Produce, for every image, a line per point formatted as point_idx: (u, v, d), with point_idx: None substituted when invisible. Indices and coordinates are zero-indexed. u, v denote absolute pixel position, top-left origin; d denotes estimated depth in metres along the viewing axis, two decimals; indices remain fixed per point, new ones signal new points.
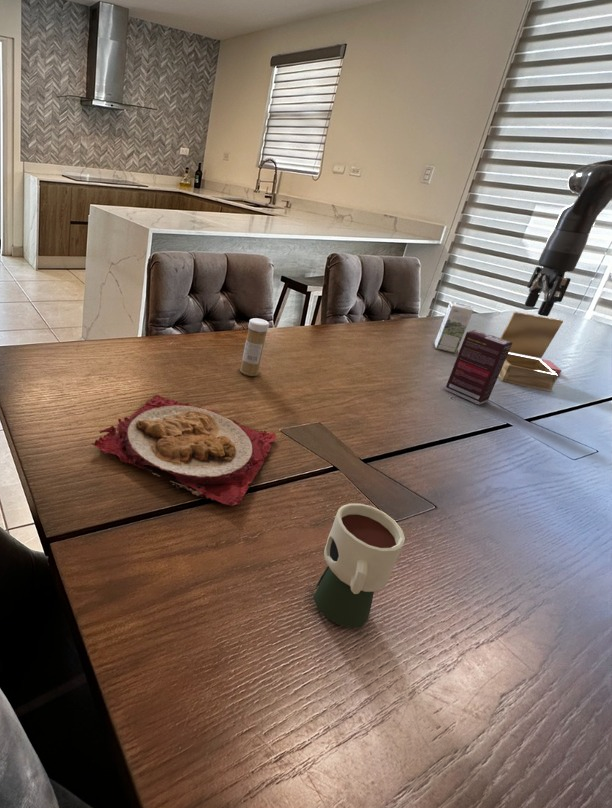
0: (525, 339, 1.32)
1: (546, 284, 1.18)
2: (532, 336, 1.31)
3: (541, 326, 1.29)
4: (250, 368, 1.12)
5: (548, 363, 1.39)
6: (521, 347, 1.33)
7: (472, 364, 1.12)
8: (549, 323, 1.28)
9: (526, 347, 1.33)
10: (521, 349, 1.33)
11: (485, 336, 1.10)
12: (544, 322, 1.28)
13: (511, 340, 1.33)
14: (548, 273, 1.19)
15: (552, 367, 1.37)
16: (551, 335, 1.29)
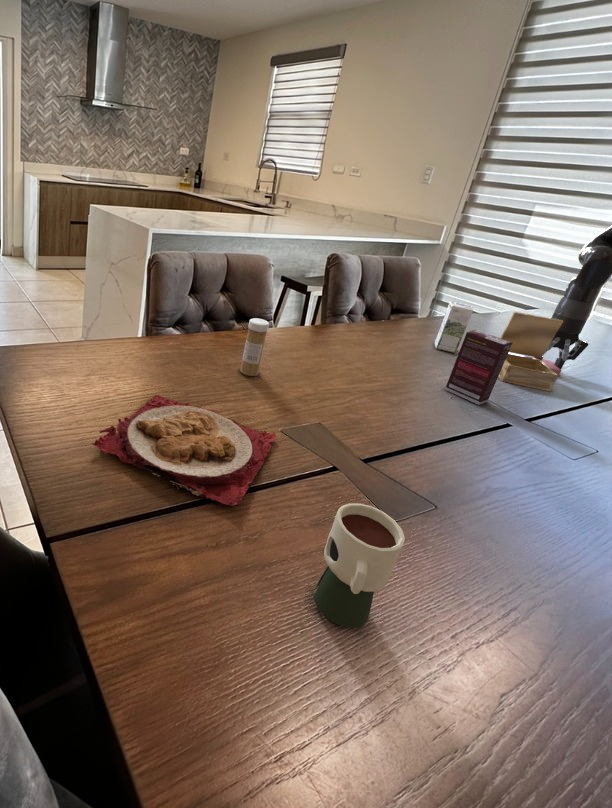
0: (525, 339, 1.32)
1: (568, 347, 1.35)
2: (532, 336, 1.31)
3: (541, 326, 1.29)
4: (250, 368, 1.12)
5: (548, 363, 1.39)
6: (521, 347, 1.33)
7: (472, 364, 1.12)
8: (549, 323, 1.28)
9: (526, 347, 1.33)
10: (521, 349, 1.33)
11: (485, 336, 1.10)
12: (544, 322, 1.28)
13: (511, 340, 1.33)
14: (565, 336, 1.34)
15: (552, 367, 1.37)
16: (551, 335, 1.29)
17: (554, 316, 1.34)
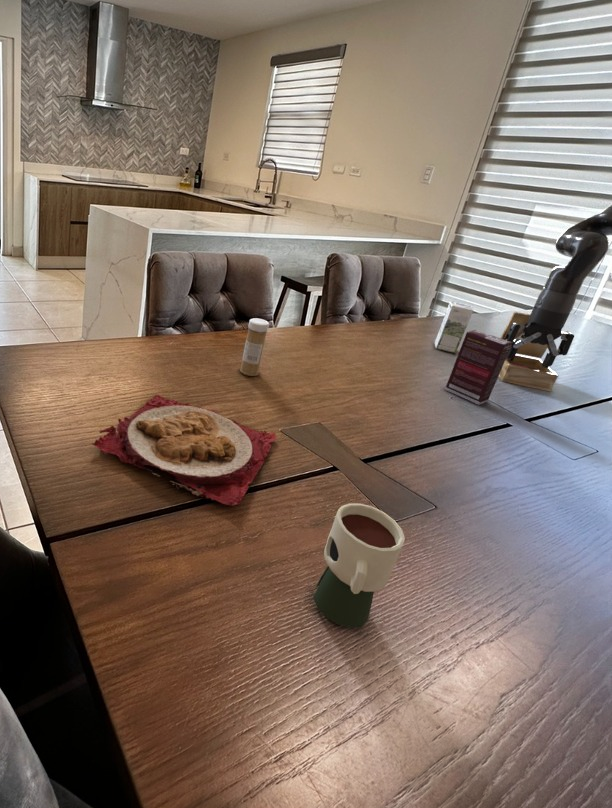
0: None
1: (554, 342, 1.24)
2: None
3: None
4: (250, 368, 1.12)
5: None
6: (521, 347, 1.33)
7: (472, 364, 1.12)
8: None
9: (526, 347, 1.33)
10: (521, 349, 1.33)
11: (485, 336, 1.10)
12: None
13: None
14: (547, 331, 1.24)
15: None
16: None
17: (535, 309, 1.23)
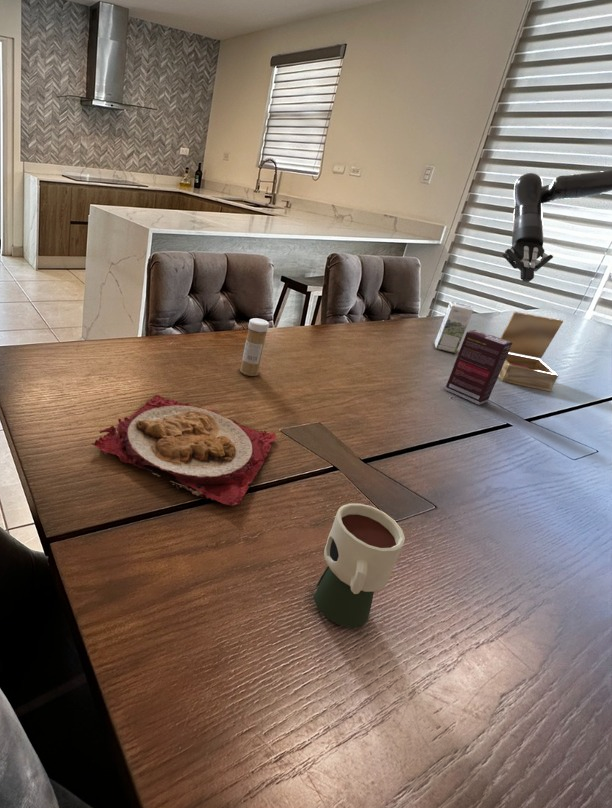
0: (525, 339, 1.32)
1: (536, 256, 1.39)
2: (532, 336, 1.31)
3: (541, 326, 1.29)
4: (250, 368, 1.12)
5: None
6: (521, 347, 1.33)
7: (472, 364, 1.12)
8: (549, 323, 1.28)
9: (526, 347, 1.33)
10: (521, 349, 1.33)
11: (485, 336, 1.10)
12: (544, 322, 1.28)
13: (511, 340, 1.33)
14: (532, 247, 1.41)
15: None
16: (551, 335, 1.29)
17: (514, 233, 1.44)
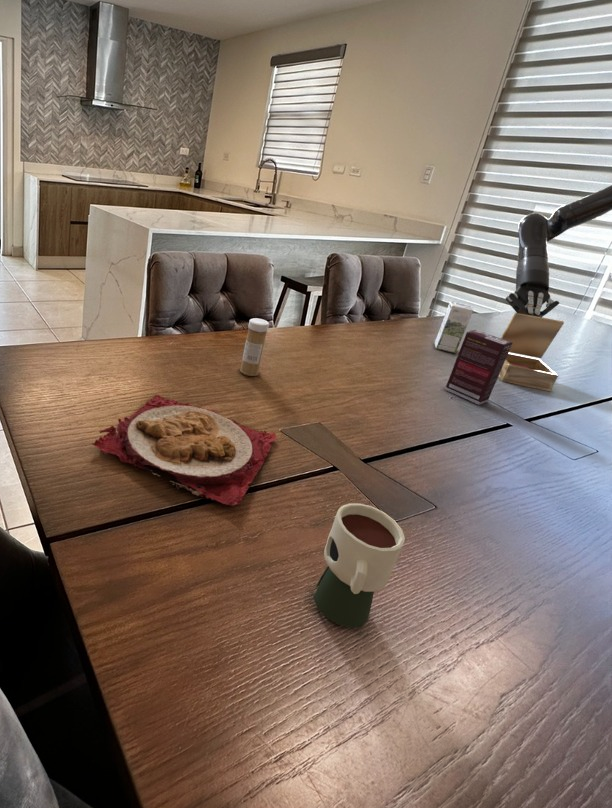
0: (525, 340, 1.32)
1: (541, 302, 1.32)
2: (532, 337, 1.31)
3: (542, 327, 1.28)
4: (250, 368, 1.12)
5: None
6: (521, 347, 1.33)
7: (472, 364, 1.12)
8: (550, 324, 1.27)
9: (526, 347, 1.33)
10: (521, 349, 1.33)
11: (485, 336, 1.10)
12: (545, 323, 1.28)
13: (511, 340, 1.33)
14: (537, 292, 1.33)
15: None
16: (551, 336, 1.29)
17: (518, 276, 1.37)
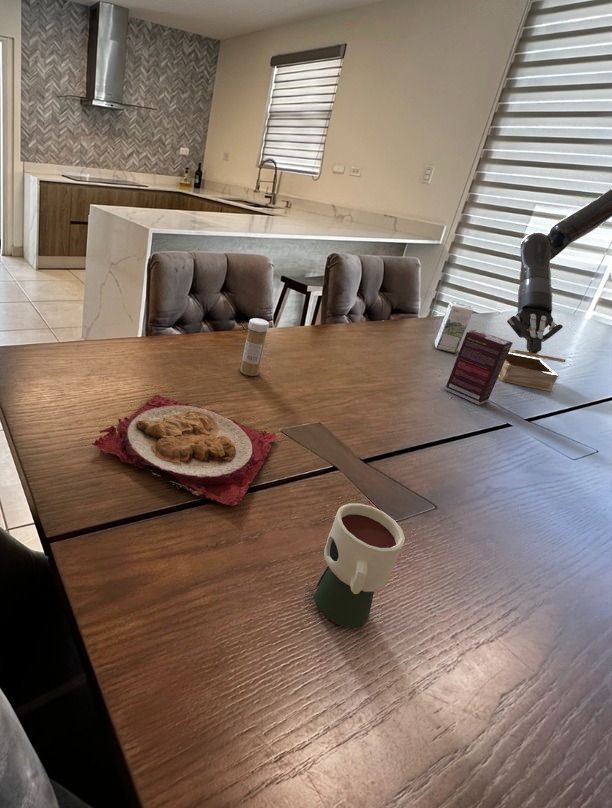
0: (525, 355, 1.30)
1: None
2: (531, 356, 1.29)
3: (541, 358, 1.25)
4: (250, 368, 1.12)
5: None
6: None
7: (472, 364, 1.12)
8: (550, 359, 1.24)
9: None
10: None
11: (485, 336, 1.10)
12: None
13: (510, 352, 1.32)
14: (539, 315, 1.29)
15: None
16: (551, 360, 1.26)
17: (520, 298, 1.33)
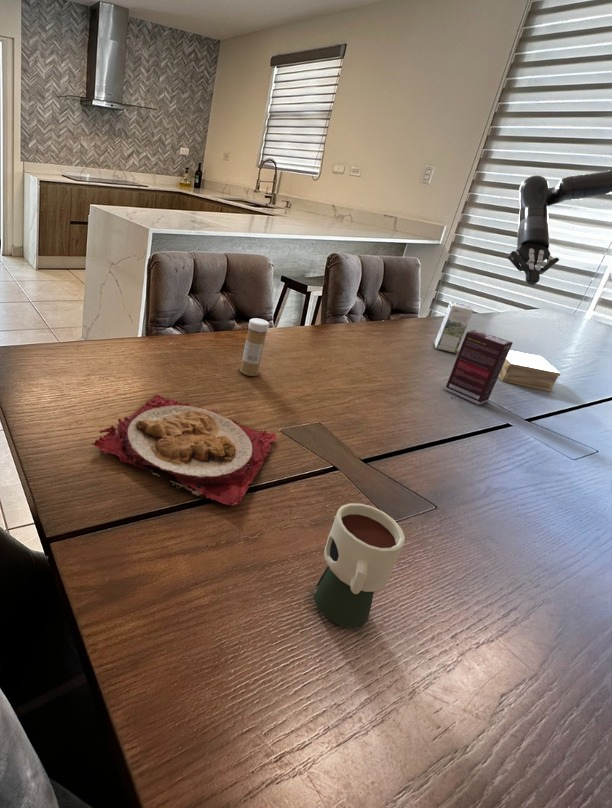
0: None
1: None
2: None
3: None
4: (250, 368, 1.12)
5: None
6: None
7: (472, 364, 1.12)
8: None
9: None
10: None
11: (485, 336, 1.10)
12: None
13: None
14: (537, 250, 1.38)
15: None
16: None
17: (519, 235, 1.42)
